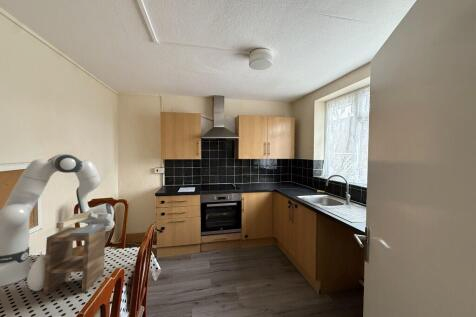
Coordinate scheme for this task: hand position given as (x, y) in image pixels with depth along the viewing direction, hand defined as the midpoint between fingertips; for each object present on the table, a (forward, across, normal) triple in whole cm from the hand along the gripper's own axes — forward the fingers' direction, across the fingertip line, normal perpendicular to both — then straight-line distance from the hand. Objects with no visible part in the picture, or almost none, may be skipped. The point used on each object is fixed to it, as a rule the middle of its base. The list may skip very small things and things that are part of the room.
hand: (85, 214), depth 106 cm
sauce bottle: (-3, -9, +35) cm, 37 cm away
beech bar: (+5, 0, +5) cm, 7 cm away
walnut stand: (-5, +5, +34) cm, 34 cm away
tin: (-27, -12, +21) cm, 36 cm away
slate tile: (+8, +9, +11) cm, 16 cm away
